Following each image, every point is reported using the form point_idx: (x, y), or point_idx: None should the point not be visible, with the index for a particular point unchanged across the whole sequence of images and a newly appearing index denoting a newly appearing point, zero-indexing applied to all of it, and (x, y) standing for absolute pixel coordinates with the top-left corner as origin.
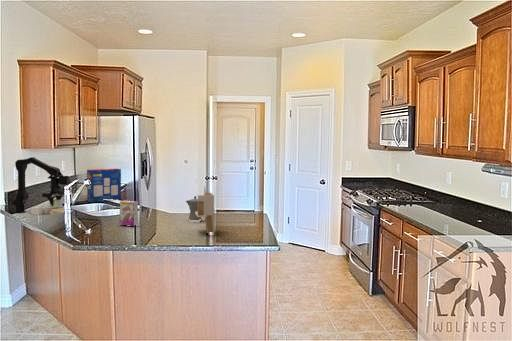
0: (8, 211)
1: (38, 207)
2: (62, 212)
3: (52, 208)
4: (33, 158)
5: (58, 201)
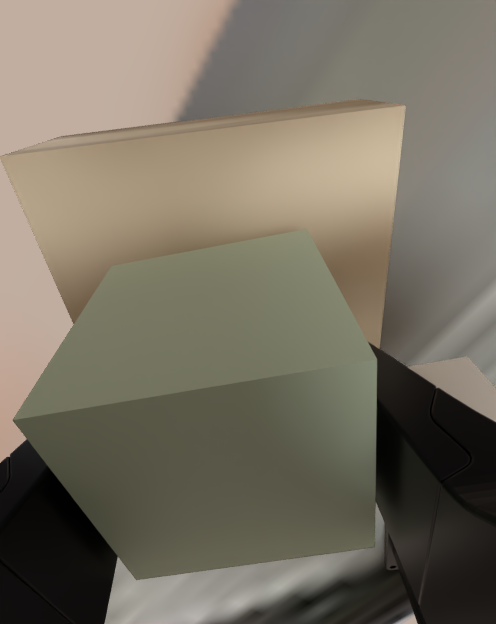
0: None
1: None
2: (137, 130)
3: None
4: None
5: (153, 352)
